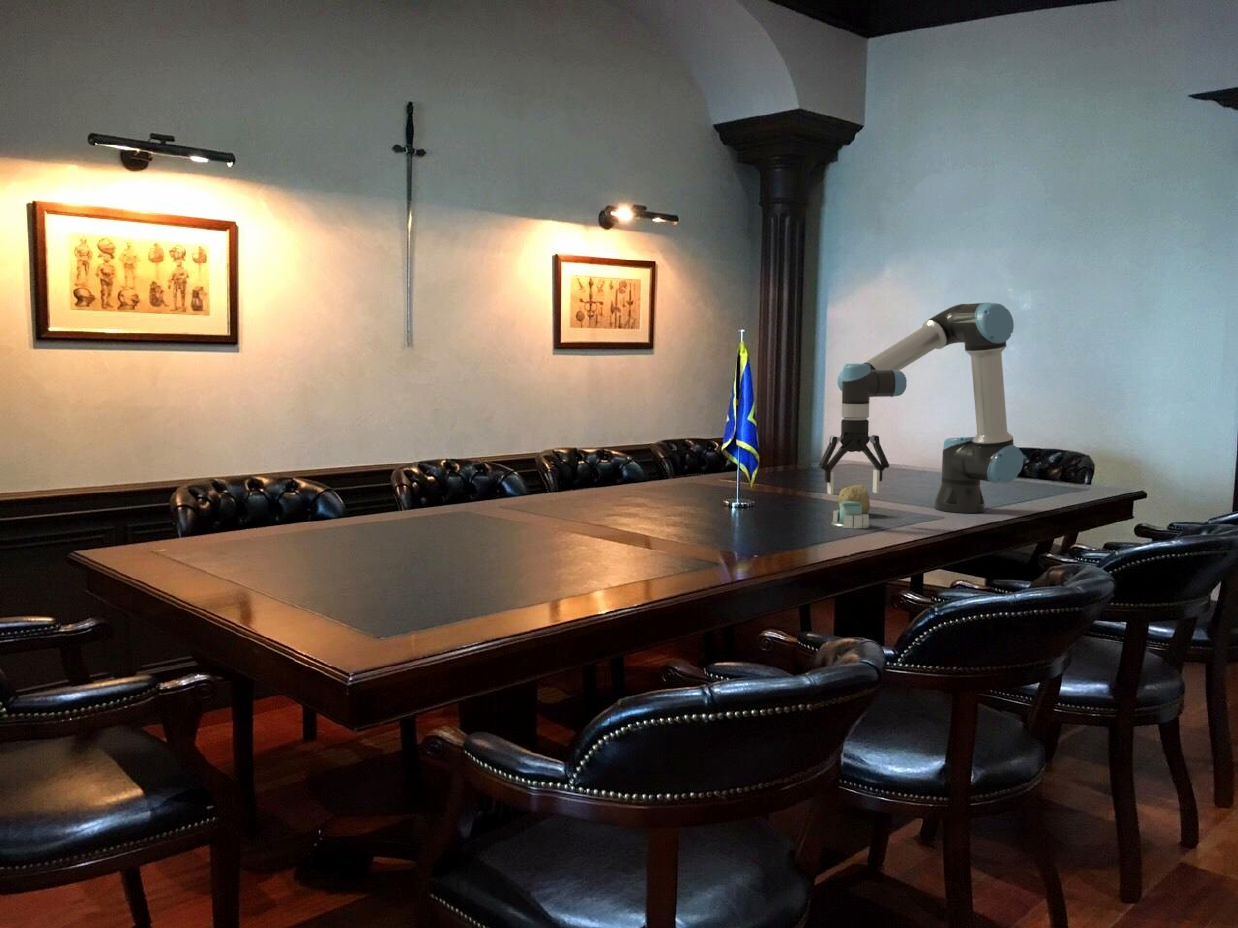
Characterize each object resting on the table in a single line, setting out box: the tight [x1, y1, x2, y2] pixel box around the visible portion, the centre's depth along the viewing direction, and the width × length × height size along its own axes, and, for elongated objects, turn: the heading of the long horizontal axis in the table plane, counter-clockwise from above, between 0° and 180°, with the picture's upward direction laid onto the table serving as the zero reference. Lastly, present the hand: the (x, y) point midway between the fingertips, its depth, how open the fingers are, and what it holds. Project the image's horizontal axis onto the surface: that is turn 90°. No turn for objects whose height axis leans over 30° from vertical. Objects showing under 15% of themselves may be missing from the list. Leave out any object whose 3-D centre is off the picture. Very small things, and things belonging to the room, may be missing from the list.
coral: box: [838, 483, 871, 515], centre depth 312 cm, size 10×10×10 cm
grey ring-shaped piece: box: [831, 509, 870, 530], centre depth 294 cm, size 10×10×4 cm
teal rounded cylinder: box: [839, 501, 862, 524], centre depth 293 cm, size 6×6×6 cm
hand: (853, 493), depth 293 cm, fingers open, 13 cm apart
